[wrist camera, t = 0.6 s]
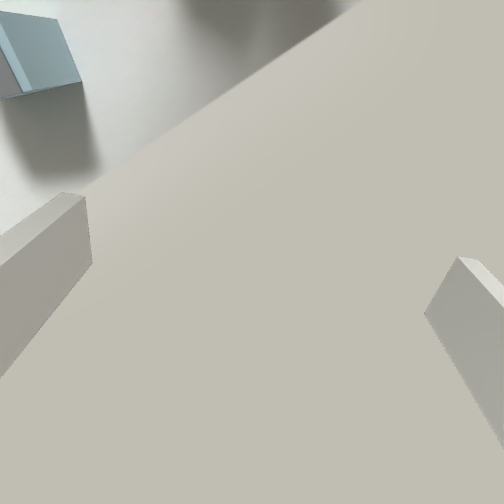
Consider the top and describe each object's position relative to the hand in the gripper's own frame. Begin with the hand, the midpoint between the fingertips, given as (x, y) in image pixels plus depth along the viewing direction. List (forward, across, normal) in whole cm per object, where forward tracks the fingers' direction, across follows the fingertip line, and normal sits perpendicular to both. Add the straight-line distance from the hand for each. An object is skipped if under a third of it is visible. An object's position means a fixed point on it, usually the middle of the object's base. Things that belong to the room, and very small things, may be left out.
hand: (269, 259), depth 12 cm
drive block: (+25, -23, +2) cm, 34 cm away
